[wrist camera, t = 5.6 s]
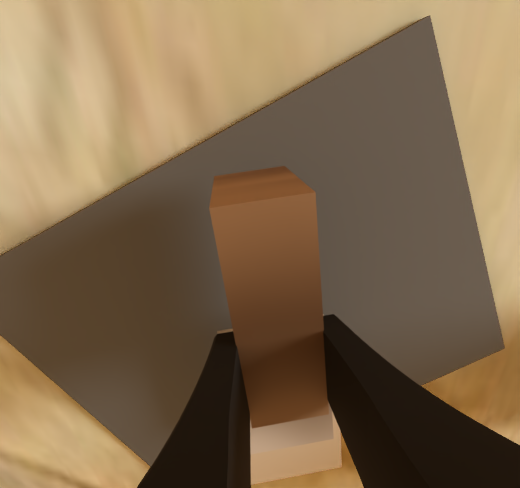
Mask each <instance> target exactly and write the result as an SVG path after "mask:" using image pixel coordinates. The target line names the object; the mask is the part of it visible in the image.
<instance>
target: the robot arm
mask: <svg viewBox="0 0 520 488" xmlns="http://www.w3.org/2000/svg"><path fill="white" fill-rule="evenodd" d="M323 323H324V331H323V338H324V354H325V369H326V385H327V400H328V402H329V404H330V407H331V409H332V412H333V414H334V416H335V419H336V421H337V424H338V426H339V428H340V431H341V433H342V436H343V438H344V440H345V443H346V445H347V447H348V450H349V452H350V454H351V457H352V459H353V462H354V464H355V466H356V469H357V471H358V473H359V476H360V479H361V481H362V484H363V486H364V488H520V445H518V444H516V443H514V442H512V441H511V440H509V439H507V438H505V437H503V436H502V435H500V434H498V433H496V432H494V431H493V430H491V429H489V428H487V427H485V426H484V425H482V424H480V423H478V422H477V421H475V420H473V419H471V418H470V417H468V416H466V415H465V414H463V413H461V412H460V411H458V410H456V409H455V408H453V407H452V406H450V405H448V404H447V403H445V402H444V401H442V400H441V399H439V398H438V397H436V396H434V395H433V394H432V393H430V392H429V391H427V390H426V389H424V388H423V387H421V386H420V385H419V384H417V383H416V382H414V381H413V380H412V379H410V378H409V377H408V376H406V375H405V374H404V373H402V372H401V371H400V370H398V369H397V368H396V367H395V366H393V365H392V364H391V363H389V362H388V361H387V360H386V359H385V358H383V357H382V356H381V355H380V354H378V353H377V352H376V351H375V350H374V349H372V348H371V347H370V346H369V345H368V344H367V343H365V342H364V341H363V340H362V339H361V338H360V337H359V336H358V335H356V334H355V333H354V332H353V331H352V330H351V329H350V328H349V327H348V326H347V325H346V324H344V323H343V322H342V321H341V320H340V319H339V318H338V317H337V316H336V315H334V314H331V315H325V316H323ZM137 488H251V453H250V411H249V406H248V400H247V395H246V390H245V385H244V380H243V374H242V369H241V364H240V359H239V354H238V349H237V346H236V343H235V338H234V333H233V331H231V332H225V333H219V334H217V335H216V336H215V337H214V340H213V344H212V347H211V350H210V352H209V355H208V358H207V360H206V363H205V366H204V368H203V370H202V373H201V375H200V377H199V379H198V382H197V384H196V386H195V388H194V391H193V393H192V395H191V397H190V399H189V401H188V403H187V405H186V407H185V409H184V411H183V413H182V414H181V416H180V418H179V420H178V422H177V424H176V426H175V428H174V429H173V431H172V433H171V435H170V436H169V438H168V440H167V442H166V443H165V445H164V447H163V448H162V450H161V451H160V453H159V455H158V456H157V458H156V460H155V461H154V463H153V464H152V466H151V467H150V469H149V470H148V472H147V473H146V475H145V476H144V478H143V479H142V481H141V482H140V484H139V485H138V487H137Z"/></svg>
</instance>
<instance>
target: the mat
mask: <svg viewBox="0 0 520 488" xmlns="http://www.w3.org/2000/svg"><path fill="white" fill-rule="evenodd" d="M280 166H285V167H287V168H288V169H289V170H290V171H291V172H292V173H294V174H295V175H296V176H297V177H298V178H299V179H301V180H302V181H303V182H304V183H305V184H307V185H308V186H309V187H310V188H311V189H312V190H314V191H315V193H316V209H317V226H318V242H319V258H320V274H321V290H322V307H323V315H324V316H325V315H331V314H334V315H336V316H337V317H338V318H339V319H340V320H341V321H342V322H343V323H344V324H346V325H347V326H348V327H349V328H350V329H351V330H352V331H353V332H354V333H355V334H356V335H358V336H359V337H360V338H361V339H362V340H363V341H364V342H365V343H367V344H368V345H369V346H370V347H371V348H372V349H374V350H375V351H376V352H377V353H378V354H380V355H381V356H382V357H383V358H385V359H386V360H387V361H388V362H389V363H391V364H392V365H393V366H395V367H396V368H397V369H398V370H400V371H401V372H402V373H404V374H405V375H406V376H408V377H409V378H410V379H412V380H413V381H414V382H416V383H417V384H419V385H420V386H421V385H424V384H426V383H428V382H430V381H433V380H435V379H437V378H439V377H442V376H444V375H446V374H448V373H451V372H453V371H455V370H457V369H460V368H462V367H464V366H466V365H469V364H471V363H473V362H475V361H478V360H480V359H482V358H484V357H487V356H489V355H491V354H493V353H496V352H498V351H500V350H502V349H504V348H505V347H504V343H503V338H502V334H501V329H500V325H499V321H498V316H497V312H496V307H495V303H494V298H493V294H492V289H491V285H490V280H489V276H488V272H487V267H486V263H485V258H484V254H483V249H482V245H481V240H480V236H479V231H478V227H477V223H476V218H475V214H474V209H473V205H472V200H471V196H470V191H469V187H468V182H467V178H466V174H465V169H464V165H463V160H462V156H461V151H460V147H459V142H458V138H457V133H456V129H455V125H454V120H453V116H452V111H451V107H450V102H449V98H448V93H447V89H446V84H445V80H444V76H443V71H442V67H441V62H440V58H439V53H438V49H437V44H436V40H435V35H434V31H433V27H432V22H431V18H430V16H427V17H425V18H423V19H421V20H419V21H417V22H416V23H414V24H412V25H410V26H409V27H407V28H405V29H403V30H401V31H400V32H398V33H396V34H394V35H393V36H391V37H389V38H387V39H385V40H384V41H382V42H380V43H378V44H376V45H375V46H373V47H371V48H369V49H368V50H366V51H364V52H362V53H360V54H359V55H357V56H355V57H353V58H352V59H350V60H348V61H346V62H344V63H343V64H341V65H339V66H337V67H336V68H334V69H332V70H330V71H328V72H327V73H325V74H323V75H321V76H320V77H318V78H316V79H314V80H312V81H311V82H309V83H307V84H305V85H304V86H302V87H300V88H298V89H296V90H295V91H293V92H291V93H289V94H287V95H286V96H284V97H282V98H280V99H279V100H277V101H275V102H273V103H271V104H270V105H268V106H266V107H264V108H263V109H261V110H259V111H257V112H255V113H254V114H252V115H250V116H248V117H247V118H245V119H243V120H241V121H239V122H238V123H236V124H234V125H232V126H231V127H229V128H227V129H225V130H223V131H222V132H220V133H218V134H216V135H214V136H213V137H211V138H209V139H207V140H206V141H204V142H202V143H200V144H198V145H197V146H195V147H193V148H191V149H190V150H188V151H186V152H184V153H182V154H181V155H179V156H177V157H175V158H174V159H172V160H170V161H168V162H166V163H165V164H163V165H161V166H159V167H158V168H156V169H154V170H152V171H150V172H149V173H147V174H145V175H143V176H142V177H140V178H138V179H136V180H134V181H133V182H131V183H129V184H127V185H125V186H124V187H122V188H120V189H118V190H117V191H115V192H113V193H111V194H109V195H108V196H106V197H104V198H102V199H101V200H99V201H97V202H95V203H93V204H92V205H90V206H88V207H86V208H85V209H83V210H81V211H79V212H77V213H76V214H74V215H72V216H70V217H69V218H67V219H65V220H63V221H61V222H60V223H58V224H56V225H54V226H53V227H51V228H49V229H47V230H45V231H44V232H42V233H40V234H38V235H36V236H35V237H33V238H31V239H29V240H28V241H26V242H24V243H22V244H20V245H19V246H17V247H15V248H13V249H12V250H10V251H8V252H6V253H4V254H3V255H1V256H0V335H1V336H2V337H3V338H4V339H6V340H7V341H8V342H9V343H10V344H11V345H12V346H14V347H15V348H16V349H17V350H18V351H19V352H20V353H22V354H23V355H24V356H25V357H26V358H27V359H28V360H30V361H31V362H32V363H33V364H34V365H35V366H36V367H38V368H39V369H40V370H41V371H42V372H43V373H44V374H46V375H47V376H48V377H49V378H50V379H51V380H52V381H53V382H55V383H56V384H57V385H58V386H59V387H60V388H61V389H63V390H64V391H65V392H66V393H67V394H68V395H69V396H71V397H72V398H73V399H74V400H75V401H76V402H77V403H79V404H80V405H81V406H82V407H83V408H84V409H85V410H87V411H88V412H89V413H90V414H91V415H92V416H93V417H95V418H96V419H97V420H98V421H99V422H100V423H101V424H103V425H104V426H105V427H106V428H107V429H108V430H109V431H111V432H112V433H113V434H114V435H115V436H116V437H117V438H118V439H120V440H121V441H122V442H123V443H124V444H125V445H126V446H128V447H129V448H130V449H131V450H132V451H133V452H134V453H136V454H137V455H138V456H139V457H140V458H141V459H142V460H144V461H145V462H146V463H147V464H148V465H149V466H150V467H151V466H152V464H153V463H154V461H155V460H156V458H157V456H158V455H159V453H160V451H161V450H162V448H163V447H164V445H165V443H166V442H167V440H168V438H169V436H170V435H171V433H172V431H173V429H174V428H175V426H176V424H177V422H178V420H179V418H180V416H181V414H182V413H183V411H184V409H185V407H186V405H187V403H188V401H189V399H190V397H191V395H192V393H193V391H194V388H195V386H196V384H197V382H198V379H199V377H200V375H201V373H202V370H203V368H204V366H205V363H206V360H207V358H208V355H209V352H210V350H211V347H212V344H213V340H214V337H215V336H216V335H217V331H221V330H227V329H233V328H232V323H231V318H230V312H229V307H228V302H227V297H226V292H225V287H224V282H223V276H222V271H221V266H220V261H219V256H218V251H217V246H216V241H215V235H214V230H213V225H212V220H211V215H210V210H209V206H210V200H211V194H212V187H213V181H214V176H219V175H226V174H232V173H239V172H246V171H253V170H260V169H266V168H273V167H280Z"/></svg>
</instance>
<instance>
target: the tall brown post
mask: <svg viewBox="0 0 520 488" xmlns="http://www.w3.org/2000/svg"><path fill="white" fill-rule="evenodd" d="M209 210H210V215H211V220H212V225H213V230H214V235H215V241H216V246H217V251H218V256H219V261H220V266H221V271H222V276H223V282H224V287H225V292H226V297H227V302H228V307H229V312H230V318H231V323H232V328H233V329H227V330H221V331H217V334H219V333H225V332H231V331H233V333H234V338H235V343H236V346H237V349H238V354H239V359H240V364H241V369H242V374H243V380H244V385H245V390H246V395H247V400H248V406H249V411H250V453H251V454H256V453H261V452H267V451H272V450H277V449H283V448H288V447H293V446H298V445H304V444H309V443H314V442H320V441H325V440H330V439H334V436H333V418H332V409H331V407H330V404H329V402H328V400H327V385H326V369H325V354H324V338H323V331H324V323H323V316H324V315H323V307H322V290H321V274H320V258H319V242H318V226H317V209H316V193H315V191H314V190H312V189H311V188H310V187H309V186H308V185H307V184H305V183H304V182H303V181H302V180H301V179H299V178H298V177H297V176H296V175H295V174H294V173H292V172H291V171H290V170H289V169H288V168H287V167H285V166H280V167H273V168H266V169H260V170H253V171H246V172H239V173H232V174H226V175H219V176H214V181H213V187H212V194H211V200H210V206H209Z"/></svg>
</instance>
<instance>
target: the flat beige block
mask: <svg viewBox="0 0 520 488" xmlns="http://www.w3.org/2000/svg"><path fill="white" fill-rule="evenodd" d="M332 418H333V436H334V439H330V440H325V441H320V442H314V443H309V444H304V445H298V446H293V447H288V448H283V449H277V450H272V451H267V452H261V453H256V454H251V485H253V484H259V483H264V482H269V481H274V480H279V479H284V478H289V477H295V476H300V475H305V474H310V473H315V472H320V471H325V470H331V469H336V468H341V467H342V459H341V431H340V428H339V426H338V424H337V421H336V419H335V416H334V414H333V412H332Z"/></svg>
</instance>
